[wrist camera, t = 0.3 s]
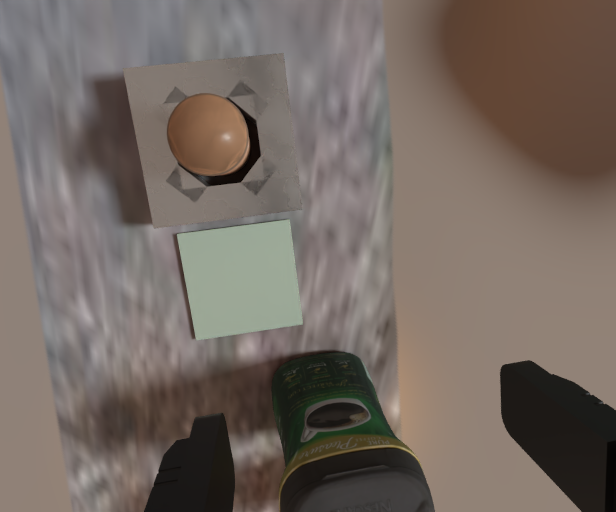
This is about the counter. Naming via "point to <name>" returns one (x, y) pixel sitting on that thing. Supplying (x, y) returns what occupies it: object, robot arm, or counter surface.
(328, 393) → the coffee jar
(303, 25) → the counter surface
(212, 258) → the mat
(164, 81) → the housing
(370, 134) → the counter surface
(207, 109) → the tan rounded cylinder
